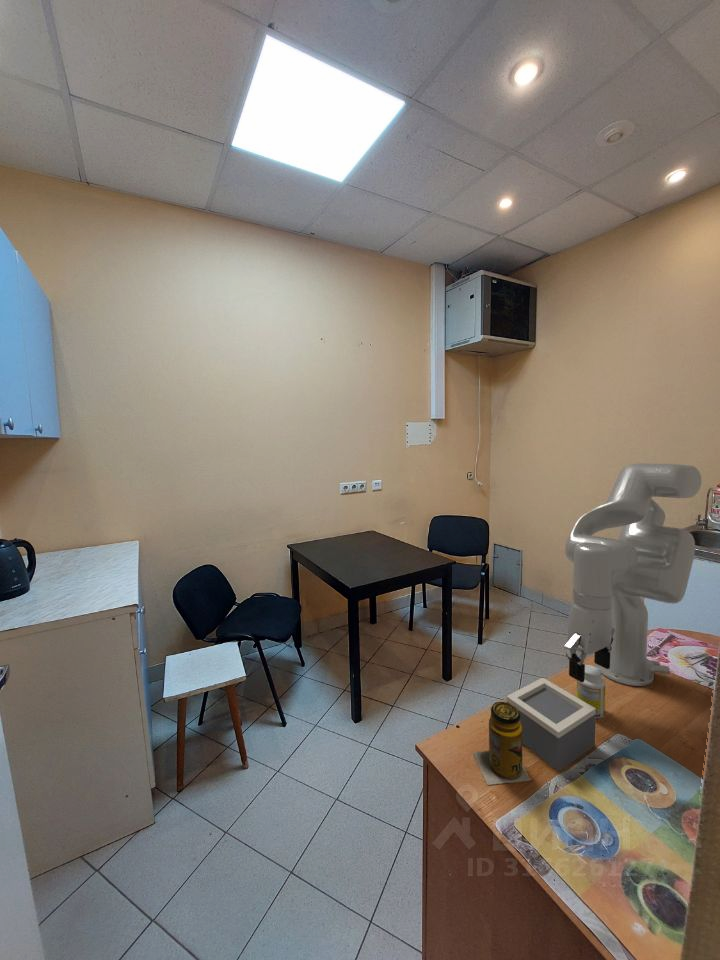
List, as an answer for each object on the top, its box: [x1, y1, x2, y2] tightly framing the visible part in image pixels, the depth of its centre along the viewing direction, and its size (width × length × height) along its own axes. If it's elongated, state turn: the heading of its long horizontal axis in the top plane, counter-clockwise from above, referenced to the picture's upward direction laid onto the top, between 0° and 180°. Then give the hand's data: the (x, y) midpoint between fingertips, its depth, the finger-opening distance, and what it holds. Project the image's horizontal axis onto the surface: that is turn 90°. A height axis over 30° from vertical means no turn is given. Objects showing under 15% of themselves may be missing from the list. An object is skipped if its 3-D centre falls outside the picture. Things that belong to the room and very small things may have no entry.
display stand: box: [506, 677, 596, 773], centre depth 80 cm, size 12×12×8 cm
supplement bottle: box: [576, 664, 606, 719], centre depth 87 cm, size 6×6×10 cm
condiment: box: [472, 701, 532, 786], centre depth 73 cm, size 7×8×12 cm
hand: (589, 672), depth 86 cm, fingers open, 9 cm apart
